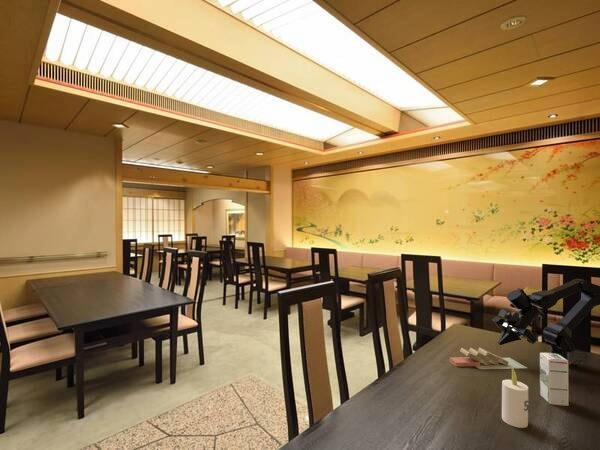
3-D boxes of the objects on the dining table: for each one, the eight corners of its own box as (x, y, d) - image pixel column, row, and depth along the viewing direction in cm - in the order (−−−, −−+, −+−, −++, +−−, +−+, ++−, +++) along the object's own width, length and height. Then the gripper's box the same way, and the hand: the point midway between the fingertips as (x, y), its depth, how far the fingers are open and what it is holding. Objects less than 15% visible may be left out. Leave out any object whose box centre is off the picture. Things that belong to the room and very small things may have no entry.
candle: (519, 430, 88) (520, 376, 88) (496, 417, 94) (497, 366, 94) (533, 425, 91) (534, 372, 91) (510, 412, 97) (511, 363, 97)
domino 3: (490, 356, 134) (470, 347, 133) (499, 362, 129) (477, 352, 128) (489, 360, 134) (468, 351, 133) (497, 365, 129) (476, 356, 128)
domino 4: (500, 356, 134) (479, 347, 134) (508, 362, 129) (487, 352, 129) (498, 360, 134) (477, 350, 133) (507, 365, 129) (485, 355, 128)
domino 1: (472, 357, 133) (449, 357, 133) (480, 362, 128) (456, 362, 128) (472, 360, 133) (449, 361, 133) (480, 366, 128) (456, 366, 128)
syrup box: (569, 406, 101) (569, 360, 101) (548, 404, 102) (548, 358, 102) (558, 396, 106) (559, 353, 106) (538, 394, 107) (539, 351, 107)
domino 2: (482, 357, 134) (461, 347, 133) (490, 362, 129) (468, 352, 128) (480, 360, 134) (459, 351, 133) (488, 366, 129) (466, 356, 128)
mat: (509, 358, 137) (509, 357, 137) (527, 368, 127) (527, 368, 127) (464, 359, 136) (464, 358, 136) (479, 369, 126) (479, 369, 126)
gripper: (496, 298, 141) (472, 323, 140) (529, 309, 123) (501, 338, 122) (513, 315, 142) (489, 340, 141) (549, 329, 123) (521, 358, 122)
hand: (499, 343), depth 131 cm, fingers closed
